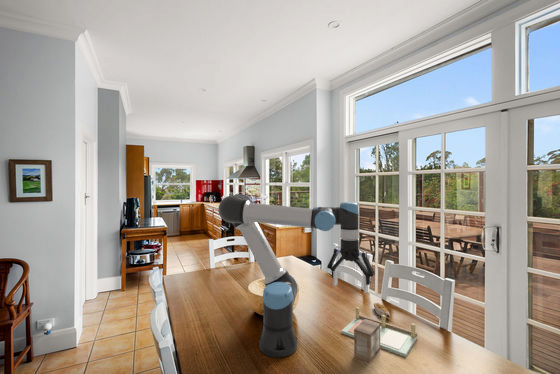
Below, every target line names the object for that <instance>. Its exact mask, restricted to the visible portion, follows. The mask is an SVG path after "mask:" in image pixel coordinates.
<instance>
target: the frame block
mask: <svg viewBox="0 0 560 374" xmlns="http://www.w3.org/2000/svg"><path fill="white" fill-rule="evenodd" d="M353 341H354V342H353V344H354V345H353V351H354V352H353V355H354V357H356V358H359V359H361V360H363V361H365V362H367V363H371V362H373V360H374V358H375V357H376V356H377V354H378V353H379V352H380V351H381V348H380V324H379V323H376V322H373V321H370V320H367V319H365V320H363V321H362V322H361V323H360V324H359V325H358V326H357V327H356V328H355V329H354V338H353Z"/></svg>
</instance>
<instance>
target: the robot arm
mask: <svg viewBox="0 0 560 374" xmlns="http://www.w3.org/2000/svg"><path fill="white" fill-rule="evenodd" d="M217 209H218V214H219V217H220V218H221V219H222V220H223V221H225V223H229V224H232V225H233V227H234V228H235V230H238V231H240V232H241V233H240V234H241V235H242V236H243V238H244V240H245V242H246V244H247V246H248V247H249V250H250V252H251V254H252V256H253V257H254V259H255V261H256V262H257V263H256V264H257V265H258V267H259V268H260V270H261V273H262V275H263V276H264V280H263V283H264V286H265V287H264V288H263V292H262V293H263V294H262V305H263V306H262V311H263V313H262V314H263V316H262V317H263V328H262V331H261V334H260V338H259V342H258V343H259V344H258V345H259V350H260V352H261V351H262V352H263V353H262V352H261V353H262V354H264V355H265V356H268V357H271V358H285V357H288V356H291V355H293V354H294V353H295V352H296V351H297V350H298V347H299V345H298V344H299V343H298V338H297V335H296V333H295V328H294V322H293V321H294V320H293V319H294V317H293V316H294V315H293V314H294V310H293V309H294V305H295V304H294V303H295V301H296V299H297V298H296V297H297V295H298V290H299V289H298V283H297V281H296V279H295V278H294V277H293V276H292V275H291V274H290V273H289V271H288V269H287V268H283V267H282V265H281V264H280V262H279V260H278V258H277V256H276V254H275V253H274V251H273V249H272V247H271V245H270V243H269V241H268V239H267V237H266V236H265V234H264V232H263V229H262V228H261V226H260V225H259V224H268V225H269V224H271V225H279V226H280V225H281V226H288V227H289V226H290V227H300V228H308V229H309V228H310V229H318V230H320V231H322V232H329V231H330V230H332V229H333V228H334V227H335V225H337V226H339V225H340V227H339V228H340V248H339V247H335V248H333V252H332V253H333V254H332V256H331V258H330V260H329V262H328V264H327V267H326V268H327V269H330V270H331V278H332V280H333V283H332V284H333V287H336V286H338V283H339V280H338V267H339V266H340V264H342V262H344V261H346V262H347V261H348V262H354V263H355V264H356V265H357V267H358V268H359V269H360V271H361V272H362V273H363V275H364V276H363V293H364V294H366V293H368V292H369V285H370V284H371V277H374V276H375V274H376V273H375V270H374V268H373V267H372V264H371V262H370V260H369V258H368V254H367V251H360V240H359V238H360V237H359V236H360V235H359V232H360V231H359V224H360V223H359V220H360V219H359V214H360V213H359V204H358V203H357V202H353V201H349V202H348V201H347V202H345V201H344V202H340V203H339V206H336V207H333V206H329V207H328V206H327V207H326V206H315V207H312V208H308V207H297V206H286V205H277V204H275V205H274V204H265V203H254V200H253V199H252V198H251V197H250V196H248V195H245V194H242V193H239V194H235V195H227V196H226V197H223V198H222V200H221V201H220V202H219V205H218V208H217ZM339 254H340V255H341V256H340V257H339V259H338V260H337V261H336V259H337V257H338V255H339ZM360 257H361V258H362V261H363V262H362V261H361V259H360ZM335 261H336V262H335Z"/></svg>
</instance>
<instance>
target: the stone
mask: <svg viewBox="0 0 560 374" xmlns="http://www.w3.org/2000/svg"><path fill="white" fill-rule="evenodd" d="M373 308H374V310H375V311H374V312H375V313H376V314H377V315H378V316H379V317H381V318H382V315H385V316H386V319H390V318H391V315H390V312H389V310H388V308H387V307H386V306H385V305H383V304H381V303H378V302H375V303H373Z"/></svg>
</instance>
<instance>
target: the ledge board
mask: <svg viewBox="0 0 560 374" xmlns="http://www.w3.org/2000/svg"><path fill="white" fill-rule="evenodd" d="M365 319H367V320H370V321H373V322H376V323H379V324H380V349H383V350H386V351H388V352H391V353H393V354H397V355H398V356H401V357H404V358H407V356H408V354H409V353H410V351H411V349H412V348H413V346H414V344H415V343H416V341H417V340H418V332H417V331H416V324H415V323H412V322H411V324H410V329H407V328H404V327H401V326H397V325H394V324H391V323H388V322H386V319H387V318H386V316H385V315H382V317H381V320H379V319H376V318H375V319H374V318H373V317H368V316H366V315H362V314H360V307H358V306H356V307H355V318H353V320H352V321H350V322H349V323H348V324H347V325H346V326H345V327H344V328H342V329H341V334H343V335H345V336H349V337H351V338H353V339H354V329H355V328H356V327H357V326H358V325H359V324H360V323H361V322H362V321H363V320H365Z"/></svg>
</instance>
